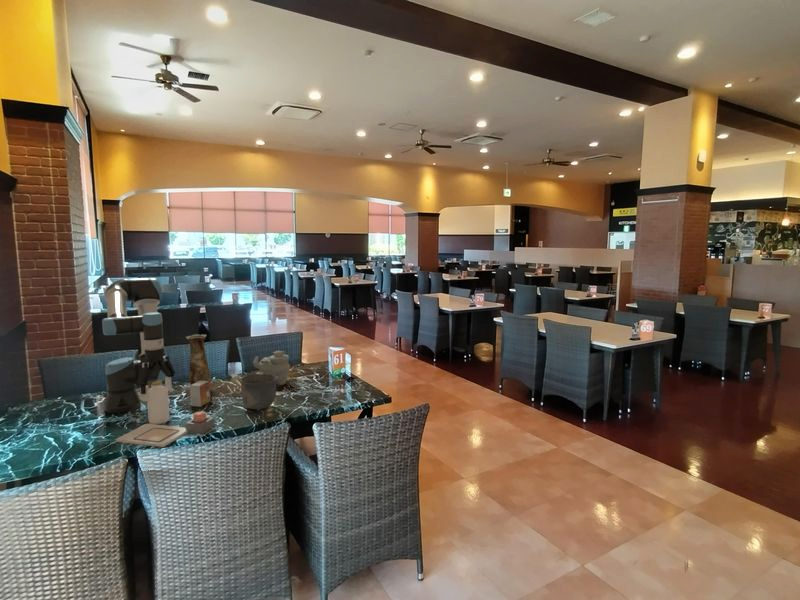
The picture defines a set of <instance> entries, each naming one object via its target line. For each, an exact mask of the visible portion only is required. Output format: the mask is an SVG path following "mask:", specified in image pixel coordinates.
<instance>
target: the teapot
mask: <svg viewBox="0 0 800 600" xmlns="http://www.w3.org/2000/svg"><path fill="white" fill-rule="evenodd" d="M285 353H286V351H285V350H276V351H272V354H273V355H270V356H268V357H266V356H265V357H263V358H261V360H260V361H259V356H258V355H257V356H255V357H254V359H253V362H252V365H253V367H254V368H256V369H258V371H259V372H261V373H262V374H263V373H271V374H275V375H276V376H277V377H278V380H277V383H276V384H277V385H276V386H278V385H279V386H282V385H285V384H286V383H287V381H288V374H289V371H290V369H291V365H290V363H289V360H290V356H289V355H288V354H285Z"/></svg>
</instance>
